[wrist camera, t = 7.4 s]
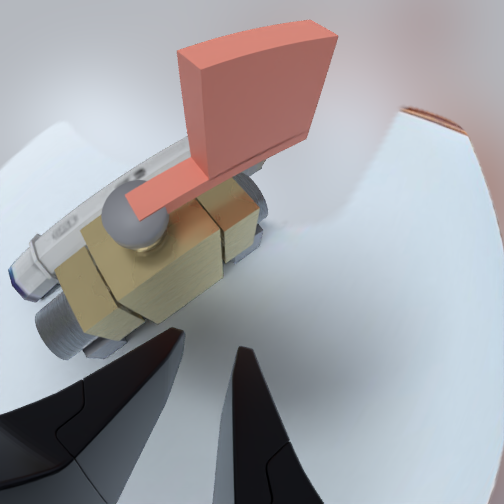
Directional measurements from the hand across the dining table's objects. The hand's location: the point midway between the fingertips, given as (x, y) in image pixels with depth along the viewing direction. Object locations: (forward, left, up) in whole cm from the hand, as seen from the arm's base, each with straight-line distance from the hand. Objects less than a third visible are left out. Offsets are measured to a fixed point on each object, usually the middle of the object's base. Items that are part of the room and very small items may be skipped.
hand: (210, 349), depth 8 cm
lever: (+5, +7, -3) cm, 9 cm away
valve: (+1, +7, -13) cm, 14 cm away
